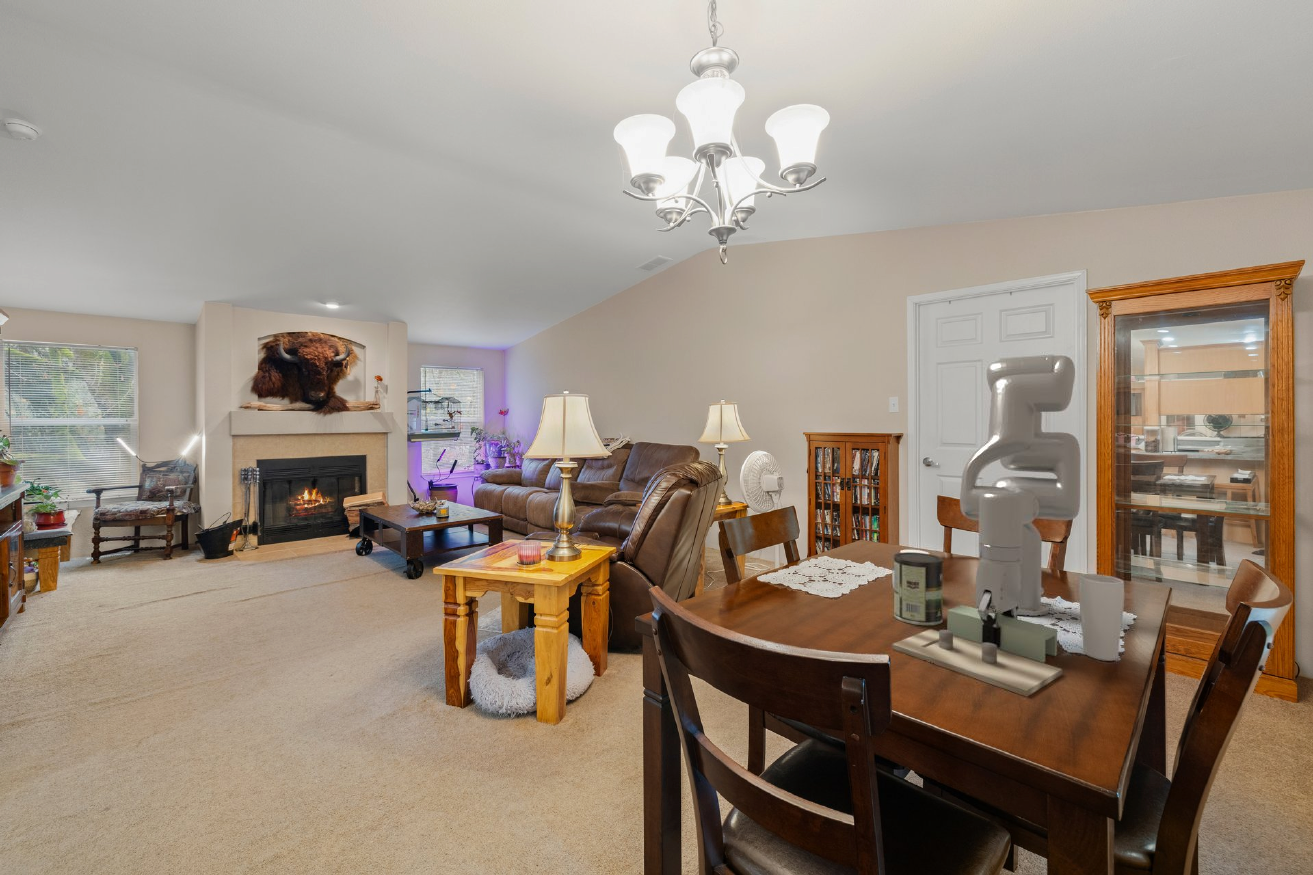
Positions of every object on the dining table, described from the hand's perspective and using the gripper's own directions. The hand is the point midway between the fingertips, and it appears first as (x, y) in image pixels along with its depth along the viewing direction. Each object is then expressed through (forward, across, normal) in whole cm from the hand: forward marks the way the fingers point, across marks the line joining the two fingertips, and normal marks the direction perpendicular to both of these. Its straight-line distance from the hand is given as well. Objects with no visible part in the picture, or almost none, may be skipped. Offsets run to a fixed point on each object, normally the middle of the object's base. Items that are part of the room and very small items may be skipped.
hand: (999, 640), depth 114 cm
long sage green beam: (+1, 0, 0) cm, 1 cm away
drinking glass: (+1, -9, +14) cm, 17 cm away
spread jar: (+1, -13, -26) cm, 29 cm away
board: (+1, +13, +1) cm, 13 cm away
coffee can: (+1, -1, -18) cm, 18 cm away
